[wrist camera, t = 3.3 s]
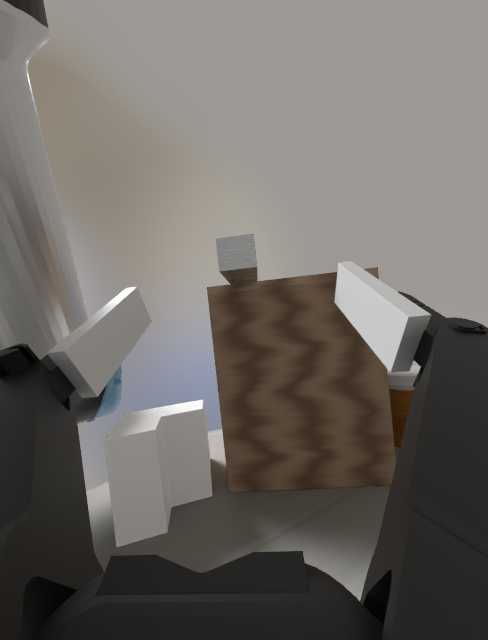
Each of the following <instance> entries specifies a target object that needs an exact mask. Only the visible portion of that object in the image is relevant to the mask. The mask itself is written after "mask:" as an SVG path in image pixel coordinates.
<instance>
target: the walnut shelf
mask: <svg viewBox="0 0 488 640" xmlns="http://www.w3.org/2000/svg"><path fill="white" fill-rule="evenodd" d="M364 270H365V271H367V272H368V273H370V274H371V275H373V276H374V277H376V278H377V279H379V277H378V267H377V268H368V269H364ZM337 273H338V272H334V273H325V274H317V275H308V276H300V277H291V278H283V279H274V280H265V281H257V282H248V283H240V284H231V285H223V286H214V287H207V292H208V301H209V311H210V320H211V328H212V338H213V347H214V357H215V365H216V374H217V384H218V393H219V402H220V411H221V421H222V430H223V439H224V448H225V457H226V466H227V476H228V485H229V493H236V492H256V491H276V490H296V489H317V488H337V487H357V486H377V485H391V484H392V480H393V476H394V472H395V467H396V458H395V447H394V436H393V426H392V415H391V404H390V394H389V383H388V373H387V368H386V366H385V365H384V364H383V363H382V361H381V360H380V359H379V358H378V356H377V355H376V354H375V353H374V351H373V350H372V349H371V348H370V346H369V345H368V344H367V343H366V341H365V340H364V339H363V338H362V336H361V335H360V334H359V333H358V331H357V330H356V329H355V327H354V326H353V325H352V324H351V322H350V321H349V320H348V319H347V317H346V316H345V315H344V314H343V312H342V311H341V310H340V309H339V307H338V306H337V305H336V304H335V302H334V300H335V291H336V282H337Z"/></svg>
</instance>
